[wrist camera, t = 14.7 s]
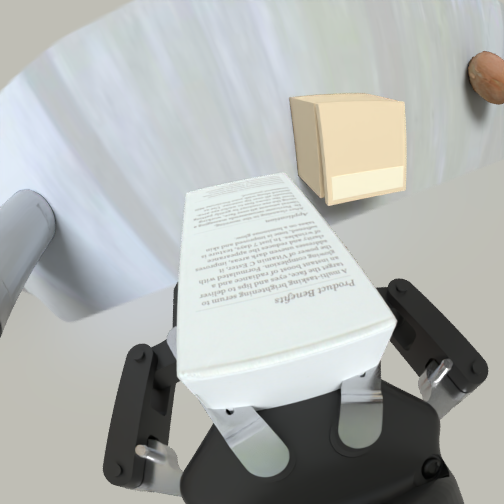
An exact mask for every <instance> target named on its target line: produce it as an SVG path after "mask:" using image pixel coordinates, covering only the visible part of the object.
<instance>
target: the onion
mask: <svg viewBox="0 0 504 504" xmlns="http://www.w3.org/2000/svg"><path fill="white" fill-rule="evenodd" d="M468 73H469V74H468V75H469V76H470V80H469V81H470V84H471V86H472V87H473V90H474V91H475V92H476V93H478V94H479V95H480V96H481V97H482V98H483V99H485V100H486V101H488V102H490V103H493V104H503V103H504V60H503V59H502V58H500V57H499V56H497V55H496V54H493V53H491V52H486V51H483V52H482V53H479V54H477V55H476V56H475V57H472V59H471V60H470V62H469V66H468Z"/></svg>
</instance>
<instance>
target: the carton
mask: <svg viewBox="0 0 504 504" xmlns="http://www.w3.org/2000/svg"><path fill="white" fill-rule="evenodd" d="M289 100H290V107H291V115H292V123H293V131H294V140H295V149H296V158H297V168H298V175H299V176H300V177H301V178H302V179H303V181H304V182H305V183H306V184H307V185H308V186H309V187H310V188H311V189H312V190H313V191H314V192H315V193H316V194H317V195H318V196H319V197H320V198H324V197H325V189H324V176H323V165H322V155H321V145H320V136H319V128H318V120H317V113H316V106H315V104H316V103H329V102H347V101H397V100H392V99H388V98H384V97H380V96H375V95H370V94H365V93H343V94H323V95H309V96H298V97H289Z"/></svg>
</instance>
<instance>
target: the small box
mask: <svg viewBox="0 0 504 504" xmlns="http://www.w3.org/2000/svg"><path fill="white" fill-rule="evenodd" d="M396 323H397V320H396V318H395V316H394V314H393V313H392V311H391V309H390V308H389V307H388V305H387V304H386V302H385V301H384V299H383V298H382V296H381V295H380V293H379V292H378V290H377V289H376V287H375V286H374V285H373V283H372V282H371V280H370V279H369V278H368V276H367V275H366V274H365V272H364V271H363V269H362V268H361V267H360V265H359V264H358V262H357V261H356V260H355V258H354V257H353V256H352V254H351V253H350V252H349V250H348V249H347V247H346V246H345V245H344V244H343V242H342V241H341V240H340V239H339V237H338V236H337V235H336V233H335V232H334V231H333V230H332V228H331V227H330V226H329V225H328V223H327V222H326V221H325V219H324V218H323V217H322V216H321V214H320V213H319V212H318V211H317V209H316V208H315V207H314V206H313V204H312V203H311V202H310V201H309V200H308V199H307V197H306V196H305V195H304V194H303V193H302V191H301V190H300V189H299V188H298V187H297V186H296V184H295V183H294V182H293V181H292V180H291V179H290V177H289V176H288V175H287V174H286V173H277V174H271V175H266V176H260V177H255V178H249V179H244V180H239V181H234V182H230V183H225V184H220V185H216V186H212V187H207V188H203V189H199V190H195V191H190V192H187V193H186V195H185V204H184V214H183V225H182V237H181V249H180V262H179V278H178V303H177V339H176V341H177V377H178V378H179V380H180V381H181V382H183V384H184V385H186V387H187V388H188V389H189V390H190V391H191V392H192V393H193V394H195V396H196V397H197V398H198V399H199V400H200V401H201V402H202V403H203V404H204V405H205V406H206V408H210V409H228V410H229V411H230V413H231V414H233V413H234V410H233V408H236V407H244V406H250V405H251V406H252V407H253V408H254V410H255V411H258V410H264V409H269V408H273V407H278V406H283V405H287V404H291V403H295V402H299V401H302V400H306V399H309V398H313V397H316V396H319V395H323V394H326V393H329V392H332V391H335V390H338V389H340V387H341V383H342V381H343V380H346V379H349V378H351V377H354V376H356V375H358V376H359V377H363V376H364V373H365V371H367V370H369V369H371V368H373V367H375V366H377V365H378V364H379V362H380V360H381V357H382V356H383V354H384V351H385V349H386V347H387V345H388V342H389V340H390V338H391V336H392V333H393V331H394V329H395V327H396Z"/></svg>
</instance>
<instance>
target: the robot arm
mask: <svg viewBox="0 0 504 504" xmlns="http://www.w3.org/2000/svg"><path fill="white" fill-rule="evenodd" d="M54 234H55V218H54V214H53V212H52V209H51V208H50V206H49V204H48V203H47V202H46V200H45V199H44V198H43V197H42V196H41V195H39V194H38V193H36V192H34V191H31V190H20V191H18V192H16V193H15V194H14V195H13V196H12V197H10V198H9V199H8V200H7V201H6V202H5V203H4V204H3V205H2V206H1V207H0V337H1V334H2V332H3V330H4V327H5V325H6V322H7V320H8V318H9V316H10V313H11V311H12V309H13V307H14V305H15V303H16V300H17V299H18V296H19V295H20V293H21V291H22V289H23V287H24V285H25V283H26V281H27V279H28V278H29V276H30V274H31V272H32V271H33V269H34V267H35V265H36V264H37V262H38V260H39V259H40V257H41V256H42V254H43V252H44V251H45V249H46V248H47V246H48V244H49V243H50V241H51V240H52V238H53V236H54ZM376 289H377V290H378V292H379V293H380V295H381V296H382V298H383V299H384V301H385V302H386V304H387V305H388V307H389V308H390V309H391V311H392V313H393V314H394V316H395V318H396V320H397V323H396V327H395V329H394V331H393V333H392V336H391V338H390V342H391V343H392V344H393V345H394V346H395V348H396V349H397V350H398V351H399V352H400V354H401V355H402V356H403V357H404V359H405V360H406V361H407V362H408V363H409V365H410V366H411V367H412V368H413V370H414V371H415V372H416V373H417V375H418V376H419V377H420V378H419V381H418V386H419V389H420V393H421V394H422V396H423V400H422V399H419V398H417V397H415V396H413V395H411V394H409V393H407V392H405V391H403V390H401V389H399V388H397V387H395V386H393V385H391V384H389V383H387V382H386V381H384V380H382V379H381V360H380V362H379V364H378V365H377V366H375V367H373V368H371V369H369V370H367V371H365V373H364V376H363V377H359V376H358V375H356V376H354V377H351V378H349V379H346V380H343V381H342V383H341V387H340V389H338V390H335V391H332V392H329V393H326V394H323V395H319V396H316V397H313V398H309V399H306V400H302V401H299V402H295V403H291V404H287V405H283V406H278V407H273V408H269V409H264V410H258V411H255V410H254V408H253V407H252V406H251V405H250V406H244V407H236V408H233V410H234V413H233V414H231V413H230V411H229V410H228V409H210V408H206V406H205V405H204V404H203V403H202V402H201V401H200V400H199V399H198V400H199V401H200V403H201V404H202V406H203V407H204V409H205V411H206V412H207V414H208V415H209V417H210V418H211V420H212V421H213V425H212V427H211V428H210V430H209V431H208V433H207V435H206V436H205V438H204V440H203V441H202V443H201V445H200V446H199V448H198V449H197V451H196V453H195V454H194V456H193V457H192V459H191V461H190V462H189V464H188V465H187V467H186V468H185V470H184V472H183V471H182V470H181V469H180V468H179V465H178V461H177V455H176V453H175V451H174V450H173V449H172V448H170V447H169V446H168V440H169V431H170V422H171V415H172V407H173V399H174V392H175V385H176V383H177V382H179V381H180V380H179V378H178V377H177V341H176V339H177V303H178V282H177V284H176V286H175V288H174V299H173V304H174V305H173V328H172V329H171V330H170V331H169V333H168V335H167V339H166V340H165V341H163V342H162V343H160V344H158V345H156V346H154V347H150V346H149V345H147V344H138V345H136V346H134V347H133V348H132V349H130V351H129V352H128V354H127V357H126V361H125V365H124V368H123V372H122V376H121V380H120V384H119V388H118V392H117V396H116V400H115V405H114V409H113V414H112V418H111V423H110V429H109V433H108V439H107V445H106V451H105V457H104V463H103V472H104V476H105V477H106V479H107V480H108V481H109V482H110V483H111V484H113V485H116V486H120V487H125V488H127V489H132V490H137V491H148V492H158V493H163V494H168V495H174V496H181V497H182V498H183V500H184V502H185V503H186V504H464V502H463V498H462V496H461V493H460V490H459V487H458V484H457V482H456V479H455V477H454V476H453V474H452V473H451V471H450V470H449V468H448V467H447V466H446V464H445V462H444V461H443V459H442V457H441V454H440V448H439V435H440V419H441V418H442V417H443V416H445V415H446V414H447V413H448V412H449V411H450V410H451V409H452V408H453V407H455V406H456V405H457V404H459V403H460V402H461V401H462V400H463V399H464V398H466V397H467V396H468V395H469V394H470V393H472V392H473V391H474V390H475V389H476V388H477V387H478V386H479V385H480V384H481V383H482V382H483V381H484V380H485V379H486V378H487V375H488V366H487V363H486V361H485V360H484V359H483V358H482V356H481V355H480V354H479V353H478V352H477V351H476V350H475V348H474V347H473V346H472V345H471V344H470V343H469V342H468V341H467V339H466V338H465V337H464V336H463V335H462V334H461V333H460V332H459V331H458V330H457V329H456V328H455V326H454V325H453V324H452V323H451V322H450V321H449V320H448V319H447V318H446V317H445V316H444V315H443V314H442V313H441V312H440V311H439V310H438V309H437V308H436V307H435V306H434V305H433V304H432V303H431V302H430V301H429V300H428V299H427V298H426V297H425V296H424V295H423V294H422V293H421V292H420V291H418V289H416V288H415V287H414V286H413V285H412V284H411V283H410V282H409V281H407V280H404V279H394V280H392V281H391V282H390V283H389V285H388V287H381V288H376Z"/></svg>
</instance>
